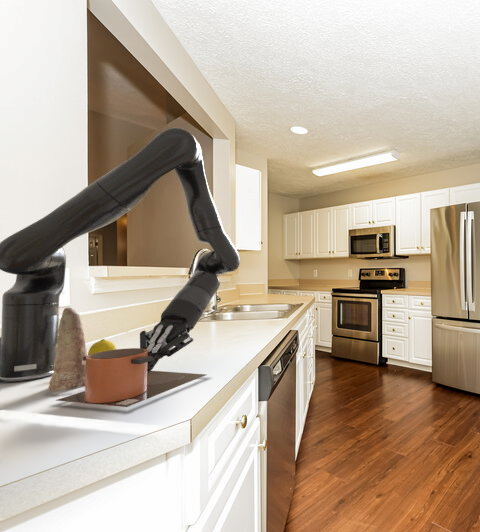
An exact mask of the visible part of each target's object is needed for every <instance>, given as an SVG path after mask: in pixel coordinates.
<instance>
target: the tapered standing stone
mask: <svg viewBox="0 0 480 532" xmlns="http://www.w3.org/2000/svg"><path fill="white" fill-rule="evenodd" d="M57 342H58V346H57V349H56V357H55V361H54V371H53V375H51V377H50V379H49V385H48V391H49V392H57V391H65V390H71V389H72V390H73V389H77V388H81V387H85V369H86V361H83V357H84V356H88V352H87V346H86V338H85V332H84V328H83V323H82V319H81V315H80V313H78V311H76V310H75V309H74V308H72V307H65V308H63V310H62V314H61V317H60V320H59V325H58V338H57Z"/></svg>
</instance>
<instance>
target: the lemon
mask: <svg viewBox="0 0 480 532" xmlns="http://www.w3.org/2000/svg"><path fill="white" fill-rule="evenodd" d="M116 349H117V347H116V345H115V344H114V343H113V342H112V341H109V340H107V339H105V338H102V339H100V340H99V341H96V342H94V344H92V345H91V346H90V348H89V349H88V352H87V356H88V355H91V354H94V353H98V352H103V351H109V350H116Z"/></svg>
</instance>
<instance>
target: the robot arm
mask: <svg viewBox="0 0 480 532" xmlns="http://www.w3.org/2000/svg"><path fill="white" fill-rule="evenodd" d="M173 170H174V172H175V173H176V175H177V177H178V179H179V181H180V184H181V186H182V190H183V193H184V197H185V203H186V207H187V208H186V209H187V212H188V216H189V220H190V222H191V225H192V229H193V231H194V234H195V237H196V239H197V240H198V242H199V243H201V244H208V245H210V247H211V249H212V251H208V252H206V253H204V254H203V255H202V256H201V257H200V258H199V259H198V260H197V263H196V266H195V268H194V269H193V270H194V271H193V273H192V276H191V277H190V278H189V279H188V280H187V282H186V283H185V285H184V286H183V287H182V288H181V289H180V290H179V291H178V292H177V293H176V294H175V296H174V297H173V299H172V300H171V301H170V302H169V304H168V305H167V306H166V307H165V309H164V310H163V311H162V313H161V314H160V321H159V322H158V323H157V324H155V325H154V327H153V329H151V330H149V331H147V330H141V331H140V332H139V348H141V349H147V350H148V356H151V357H153V360H152V361H149V362H148V367H147V373H149V372H150V371H153V369H154V368H155V366H156V365H157V364H158V363H159V361H160V360H162V359H163V358H164V357H167V358H170V357H171V356H173V355H174V354H176V353H177V352H179V351H180V350H182V349H184V348H185V347H186V346H188V345H190V344H191V343H193V341H194V338H193V337H192V335H191V334H190V332H191V331H192V330H193V329H195V327H196V325H197V324H198V322H199V320H200V319H201V318H202V316H203V315H204V313H205V312H206V310H207V309H208V307H209V304H210V302H211V301H212V299H213V298H214V296H215V295H216V293H217V291H218V290H219V289H220V285H221V281H220V278H219V276H220V275H225V274H229V273H233V272H235V271H237V270H238V269H239V267H240V263H241V257H240V253H239V251H238V250H237V248H236V247H235V245H234V243H233V242H232V241H231V239H230V237H229V236H228V234H226V231H225V229H224V227H223V224H222V221H221V218H220V215H219V212H218V209H217V207H216V204H215V201H214V199H213V196H212V193H211V190H210V188H209V185H208V182H207V181H208V180H207V177H206V173H205V167H204V160H203V150H202V147H201V145H200V143H199V142H198V141H197V139H196V137H195V136H194V135H193V134H192V133H191V132H190V131H189V130H187V129H185V128H182V127H169V128H166V129H164V130H162V131H161V132H160V133H158V134H157V135H156V136H155V137H154V138H153V139H152V140H151V141H149V142H148V143H147V144H146V145H145V146H144V147H143V148H141V149H140V150H139V151H138V152H137V153H136V154H134V155H133V156H131V157H130V158H128V159H126V160H125V161H124V162H122V163H120V164H119V165H117V166H115V167H114V168H113V169H111V170H110V171H108V172H107V173H106V174H104V175H102V176H101V177H99V178H97V179H96V180H95V181H93V182H92V183H90V184H89V185H88V186H85V188H82V190H80V191H79V192H78V193H76V194H75V195H74V196H72V197H71V198H68V200H66V201H65V202H63V203H62V204H60V205H59V206H58V207H56V208H55V209H53V210H52V211H50V213H48V214H46V215H45V216H44V217H42V218H40V219H37V221H35V222H33V223H31V224H29V225H27V226H26V227H23V228H21V229H20V230H19V231H16V232H14V233H12V234H11V235H9V236H7V237H6V238H4V239H2V241H0V271H2V272H3V273H6V274H11V275H16V277H15V282H14V284H13V285H12V286H11V287H10V288H9V289H8V290H6V291H5V292H3V294H2V297H1V299H2V300H1V328H0V329H1V331H0V332H1V333H0V382H3V383H10V382H11V383H13V382H22V381H23V382H24V381H31V380H36V379H42V378H46V377H49V376H50V377H51V376H52V375H53V371H54V361H55V357H56V349H57V346H58V342H57V338H58V329H59V324H60V320H59V319H60V315H59V314H60V296H61V294H62V292H63V291H64V286H65V278H66V267H67V258H66V257H67V256H66V252H65V249H64V248H63V247H65V246H66V245H68V244H69V243H71V242H72V241H73V240H75V239H77V238H80V236H83V235H86V234H89V233H91V232H94V231H96V230H99V229H102V228H103V227H105V226H107V225H110V224H112V223H114V222H115V221H117V220H119V219H120V218H122V217H123V216H124V215H126V214H127V213H128V212H130V211H131V210H132V209H134V208H135V207H136V206H137V205H139V203H140V202H141V201H142V200H143V199H144V198H145V197H146V196H147V194H148V193H149V191H150V190H151V189H152V188H153V186H154V185H155V184H156V183H157V182H158V181H159V180H160V179H161V178H162V177H164V176H166V175H167V174H169V173H171V172H172V171H173Z"/></svg>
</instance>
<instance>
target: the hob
mask: <svg viewBox="0 0 480 532" xmlns="http://www.w3.org/2000/svg"><path fill="white" fill-rule="evenodd" d="M206 376H208V374H207V373H206V374H204V373H190V372H189V373H188V372H176V371H165V370H164V371H161V370H151V371H150V372H149V373H147V390H146V392H144V393H143V394H141V395H138V396H136V397H133V398H129V399H125V400H121V401H116V402H109V403H88V402H86V401H85V390H84V391H80V392H77V393H74V394H71V395H67V396H64V397H62V398H58V399H55V402H56V401H57V402H67V403H69V402H70V403H79V404H87V405H88V404H90V405H100V406H112V407H121V408H122V407H123V408H128V407H130V406H133V405H136V404H138V403H140V402H143V401H146V400H148V399H150V398H153V397H155V396H157V395H161V394H163V393H165V392H168V391H170V390H172V389H175V388H178V387H180V386H182V385H183V386H184V385H185V384H188V383H191V382H193V381H195V380H198V379H200V378H203V377H206Z"/></svg>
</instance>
